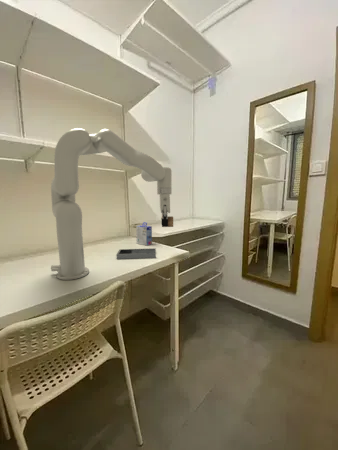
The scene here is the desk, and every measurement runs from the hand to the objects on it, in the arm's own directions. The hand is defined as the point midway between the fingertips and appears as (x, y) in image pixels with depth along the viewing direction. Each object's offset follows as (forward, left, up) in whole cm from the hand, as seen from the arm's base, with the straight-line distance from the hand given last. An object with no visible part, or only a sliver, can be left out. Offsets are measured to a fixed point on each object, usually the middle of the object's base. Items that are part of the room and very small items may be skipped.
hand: (164, 225), depth 114 cm
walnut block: (+2, 0, -1) cm, 2 cm away
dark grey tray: (-15, 0, -17) cm, 23 cm away
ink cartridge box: (-13, +26, -17) cm, 34 cm away
